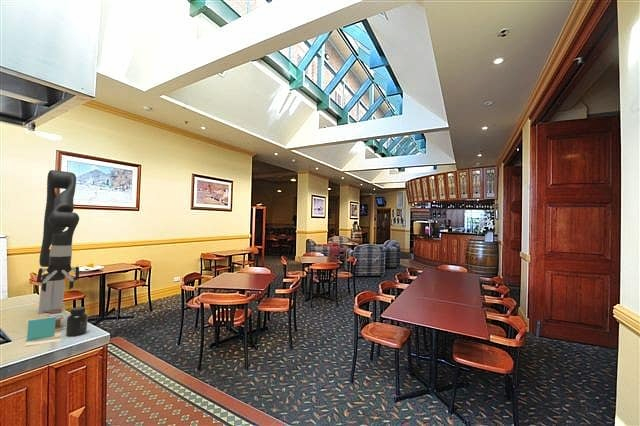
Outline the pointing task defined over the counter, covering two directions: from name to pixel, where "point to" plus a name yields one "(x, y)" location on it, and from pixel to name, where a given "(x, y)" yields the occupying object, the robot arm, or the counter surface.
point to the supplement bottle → (76, 322)
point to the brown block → (58, 315)
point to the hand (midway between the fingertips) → (57, 290)
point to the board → (46, 339)
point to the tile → (41, 328)
